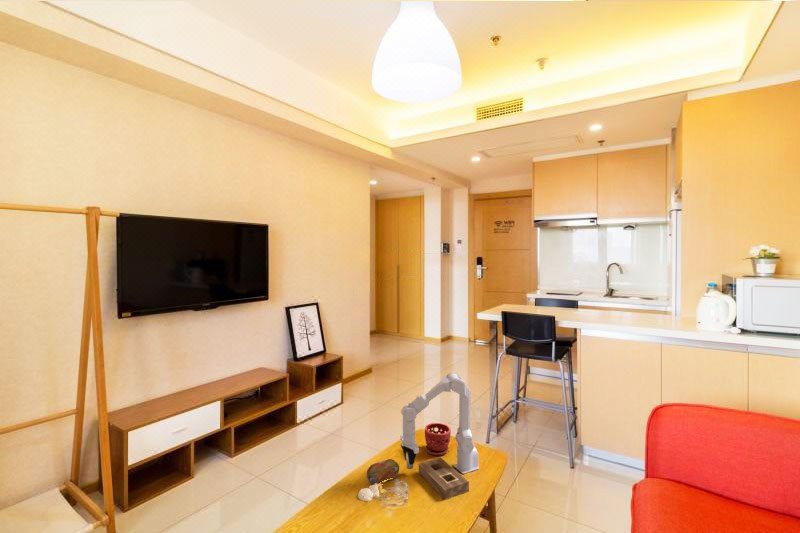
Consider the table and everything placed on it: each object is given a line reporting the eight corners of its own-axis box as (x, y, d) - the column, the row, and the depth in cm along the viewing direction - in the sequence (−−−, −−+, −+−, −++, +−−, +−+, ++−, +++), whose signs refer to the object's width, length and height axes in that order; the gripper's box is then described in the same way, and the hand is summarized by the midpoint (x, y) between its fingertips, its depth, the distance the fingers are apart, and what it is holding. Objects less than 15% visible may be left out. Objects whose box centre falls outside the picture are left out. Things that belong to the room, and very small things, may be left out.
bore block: (440, 465, 176) (440, 456, 176) (468, 491, 156) (468, 481, 156) (418, 472, 171) (418, 463, 171) (444, 499, 151) (444, 489, 151)
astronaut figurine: (389, 496, 155) (388, 489, 155) (361, 504, 150) (361, 497, 150) (381, 484, 163) (381, 478, 163) (355, 492, 158) (355, 485, 158)
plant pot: (432, 460, 181) (431, 435, 181) (420, 447, 193) (420, 424, 193) (455, 454, 186) (455, 430, 186) (443, 442, 198) (442, 420, 198)
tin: (368, 487, 160) (368, 468, 160) (365, 483, 163) (365, 464, 163) (399, 477, 167) (399, 459, 167) (396, 474, 170) (396, 456, 170)
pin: (411, 464, 172) (411, 449, 172) (414, 468, 169) (414, 452, 169) (405, 466, 171) (404, 451, 171) (408, 469, 168) (408, 454, 168)
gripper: (394, 428, 174) (395, 456, 175) (408, 441, 161) (409, 472, 162) (407, 424, 178) (408, 453, 178) (422, 437, 165) (423, 467, 165)
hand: (409, 461), depth 170 cm, fingers closed on pin, 3 cm apart
